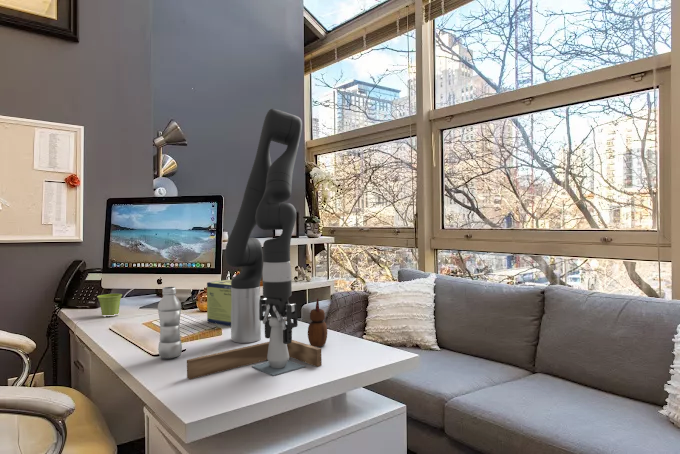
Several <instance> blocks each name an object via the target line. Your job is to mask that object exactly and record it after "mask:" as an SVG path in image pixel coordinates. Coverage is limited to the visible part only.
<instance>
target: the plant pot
mask: <svg viewBox="0 0 680 454" xmlns="http://www.w3.org/2000/svg"><path fill="white" fill-rule="evenodd" d="M122 296H123V294H122V293H108V294H100V295H97V296H96V297H97V299H98V301H99V305H100V310H101V316H102V315H114V314H118V313H120V306H121V305H120V304H121V300H122Z"/></svg>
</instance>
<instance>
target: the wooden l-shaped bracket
mask: <svg viewBox="0 0 680 454" xmlns="http://www.w3.org/2000/svg"><path fill="white" fill-rule="evenodd" d="M268 347H269V341H266V342H261V343H257V344H252V345H247V346H243V347H239V348H234V349H230V350H224V351H221V352H216V353H210V354H207V355H202V356H197V357H193V358H189V359H188V358H187V359H186V378H187V379H188V380H194V379H196V378H201V377H206V376H208V375H209V376H210V375H212V374H216V373H221V372H225V371H228V370H233V369H236V368H240V367H244V366H248V365H253V364H257V363H262V362H264V361H265V362H266V361H268V360H267V354H268ZM287 348H288V353H289V358H290V359H294V360H297V361H299V362H303V363H306V364H307V365H308V364H309V365H311V366H314V367H316V368H318V367H321V366H322V364H323V363H322V360H323V359H322V348H320V347H314V346H312V345H311V344H307V343H305V342H300V341H297V340H295V339H292V342H291V343H289V344H287Z"/></svg>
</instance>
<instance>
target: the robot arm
mask: <svg viewBox="0 0 680 454" xmlns="http://www.w3.org/2000/svg"><path fill="white" fill-rule="evenodd" d="M302 131H303V121H302V119H301V118H300V116H297V115H294V114H291V113H290V112H289V113H288V112H286V111H283V110H281V109H280V110H279V109H275V108H270V109H269V110H268V111H267V112H266V115H265V117H264V120H263V123H262V127H261V132H260V137H259V141H258V145H257V149H256V155H255V159H254V162H253V164H252V167H251V171H250V174H249V176H248V180H247V182H246V186H245V189H244V193H243V198H242V201H241V204H240V207H239V211H238V214H237V216H236V219H235V222H234V226H232V227H233V228H232V229H231V232H230V235H229V237H228V239H227V243H226V246H225V252H224V257H225V258H224V259H225V261H226V263H227V265H229V266H230V267H233V268H234V267H235V268H239V267H241V271H240V272H239V273H238V274H236V276H234V277H232V279H230V280H231V299H232V310H231V326H230V335H231V336H230V339H231V341H232V342H234V343H239V344H240V343H241V344H246V343H247V344H249V343H253V342H258V341H260V340H261V338H262V334H261V332H262V330H261V329H262V328H261V321H262V324H263V325H264V337H265V339H270V334H271V326H270V325H269V320H270V318H271V317H275V318H277V319H278V321H279V322H280V323H281V324H282V327H283V343H284V344H289V343H291V342H292V340H293V336H292V335H293V332H292V331H293V329H294V328H297V327H298V305H297V304H296V302H295V303H290V302H289V298H290V297H292V293H293V292H292V291H293V290H292V289H293V288H292V265H291V242H292V241H291V240H292V235H293V231H294V228H295V225H296V221H297V210H296V208H295V206H294V205H293V204H292V203H290V202H287V201H288V200H290V198H291V196H292V190H293V189H292V187H293V175H294V169H295V168H294V167H295V163H296V160H297V156H298V151H299V145H300V143H301V142H300V141H301V136H302ZM272 142H275V143H278V144H280V145H284V146H286V149H285V151H284V152H283V153H282V154H280V156H279V157H278V158H276V159H275V160H274V161H273V162H272V159H271V154H270V151H271V150H270V149H271V148H270V147H271V146H270V145H271V143H272ZM256 225H257V227H258V228H259V229H260V230H264V231H270V230H271V231H275V230H276V231H277V230H278V231H279V230H280V231H281V232H282V233H281V234H280V235H279V236H278V237H275V238H269V239H266V240H265V241H264V242H263V246H262V243H261V241H260V240H259V239H258V238H256V237H251V234H252V233H253V231H254V229H255V227H256ZM261 281H262V297H263V298H261ZM285 321H286V323H285Z"/></svg>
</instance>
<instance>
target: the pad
mask: <svg viewBox="0 0 680 454" xmlns="http://www.w3.org/2000/svg"><path fill="white" fill-rule="evenodd" d="M251 368H253V369H255V370H257V371H259V372H263V373H265V374H267V375H270V376H272V377H275V376H279V375H283V374H286V373H290V372H293V371H296V370H299V369H303V368H306V366H305V365H304V364H300V363H297V362H295V361H292V360H290V359H289V360H288V362H287V364H286V366H285V367H283V368H280V369H279V368H272V367H270V365H269V362H268V361H265V362H263V363H262V362H261V363H259V364H254V365H251Z"/></svg>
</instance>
